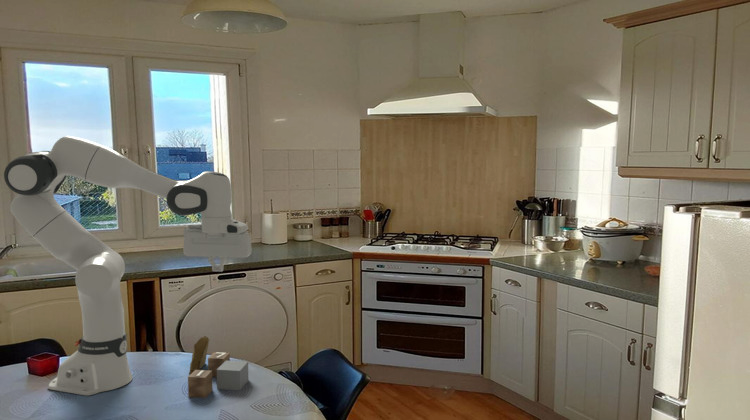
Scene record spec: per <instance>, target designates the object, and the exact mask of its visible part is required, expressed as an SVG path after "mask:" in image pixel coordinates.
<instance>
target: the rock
mask: <svg viewBox="0 0 750 420" xmlns="http://www.w3.org/2000/svg"><path fill="white" fill-rule="evenodd" d="M209 342H210V338H209V337H207V336H205V335H204V336H203V337H200V338H199V339H198V341H196V342H195V344H194V345H193V351H192V356H191V362H190V364H189V365H190V367H189V372H188V374H189V375H190V374H192V373H193V372H194V371H195V370H202V368H203V367H204V365H206V361H207V356H208V355H207V354H208V348H209Z"/></svg>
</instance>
